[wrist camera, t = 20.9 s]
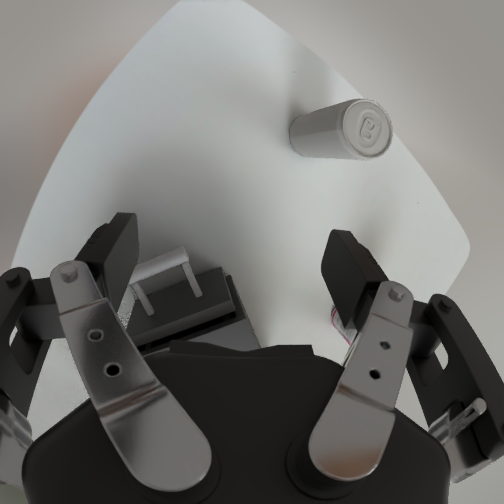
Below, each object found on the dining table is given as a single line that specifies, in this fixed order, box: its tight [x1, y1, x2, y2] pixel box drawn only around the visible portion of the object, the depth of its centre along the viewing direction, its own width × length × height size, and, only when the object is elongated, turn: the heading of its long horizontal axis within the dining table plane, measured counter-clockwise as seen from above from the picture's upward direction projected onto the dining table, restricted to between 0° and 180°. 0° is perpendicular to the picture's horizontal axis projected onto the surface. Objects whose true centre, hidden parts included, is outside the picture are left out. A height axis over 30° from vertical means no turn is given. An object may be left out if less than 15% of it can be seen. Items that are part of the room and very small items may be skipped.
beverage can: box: [289, 99, 393, 160], centre depth 24 cm, size 5×5×12 cm
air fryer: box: [137, 275, 261, 357], centre depth 30 cm, size 14×12×10 cm
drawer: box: [126, 246, 235, 350], centre depth 29 cm, size 17×10×8 cm, turn 19°
